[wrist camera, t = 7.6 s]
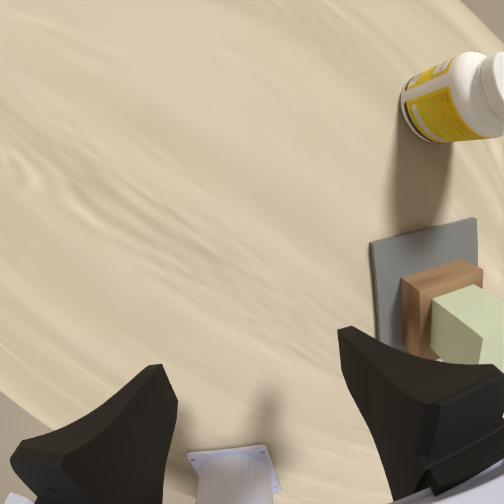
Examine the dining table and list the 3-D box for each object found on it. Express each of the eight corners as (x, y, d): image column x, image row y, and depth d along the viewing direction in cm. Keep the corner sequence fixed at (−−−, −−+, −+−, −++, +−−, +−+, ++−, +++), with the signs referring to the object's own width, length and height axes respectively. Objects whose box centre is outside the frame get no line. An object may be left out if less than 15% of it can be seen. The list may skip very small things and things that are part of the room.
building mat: (468, 341, 24) (471, 343, 23) (378, 375, 24) (381, 379, 24) (472, 217, 21) (476, 218, 21) (369, 242, 22) (372, 244, 21)
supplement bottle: (451, 152, 20) (543, 152, 10) (394, 130, 20) (482, 111, 10) (456, 91, 19) (541, 68, 9) (401, 66, 18) (479, 20, 9)
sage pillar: (470, 330, 20) (515, 368, 14) (430, 346, 20) (472, 392, 14) (473, 283, 19) (526, 315, 13) (431, 298, 19) (482, 338, 13)
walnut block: (458, 323, 23) (477, 338, 20) (402, 344, 23) (418, 363, 20) (461, 259, 21) (483, 269, 18) (400, 277, 22) (419, 291, 19)
